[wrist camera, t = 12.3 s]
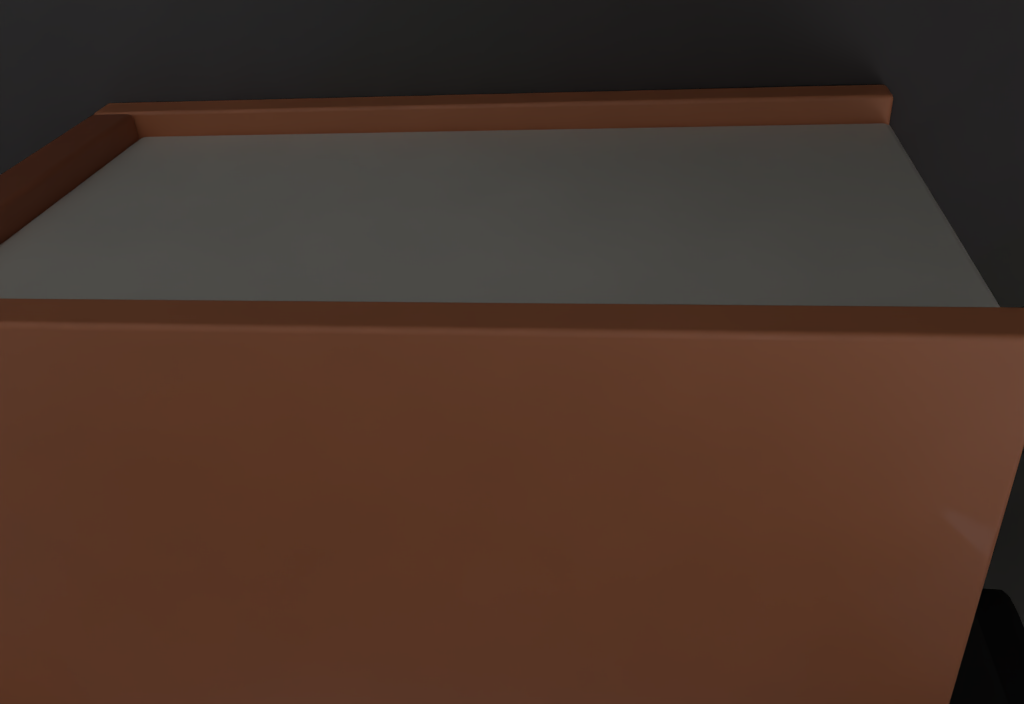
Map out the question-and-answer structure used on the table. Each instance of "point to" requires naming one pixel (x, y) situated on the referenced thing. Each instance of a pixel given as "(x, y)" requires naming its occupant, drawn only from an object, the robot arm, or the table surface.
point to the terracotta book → (495, 404)
